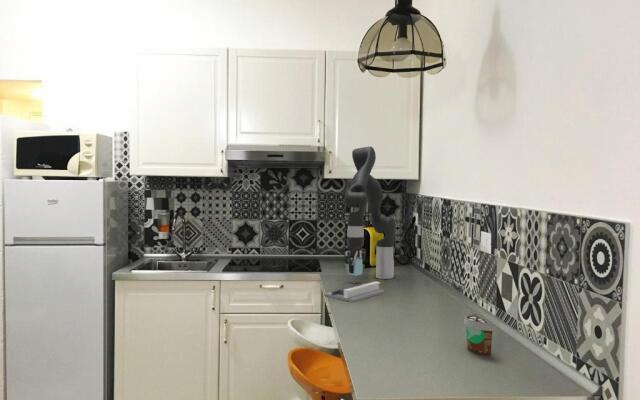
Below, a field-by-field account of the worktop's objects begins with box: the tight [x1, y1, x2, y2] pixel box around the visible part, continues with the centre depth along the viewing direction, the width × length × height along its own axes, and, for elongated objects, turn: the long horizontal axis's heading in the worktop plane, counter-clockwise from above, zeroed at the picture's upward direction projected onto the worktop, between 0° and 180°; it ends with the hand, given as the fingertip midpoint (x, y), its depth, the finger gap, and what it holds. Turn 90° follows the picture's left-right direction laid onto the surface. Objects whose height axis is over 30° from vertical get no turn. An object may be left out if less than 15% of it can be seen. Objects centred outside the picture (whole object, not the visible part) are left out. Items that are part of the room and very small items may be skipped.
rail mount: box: [324, 281, 385, 303], centre depth 215 cm, size 24×16×5 cm, turn 138°
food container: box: [463, 312, 494, 356], centre depth 144 cm, size 12×6×10 cm, turn 5°
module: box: [347, 258, 363, 277], centre depth 215 cm, size 5×4×7 cm
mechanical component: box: [343, 263, 365, 285], centre depth 239 cm, size 3×10×10 cm, turn 78°
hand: (354, 272), depth 215 cm, fingers closed on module, 5 cm apart
